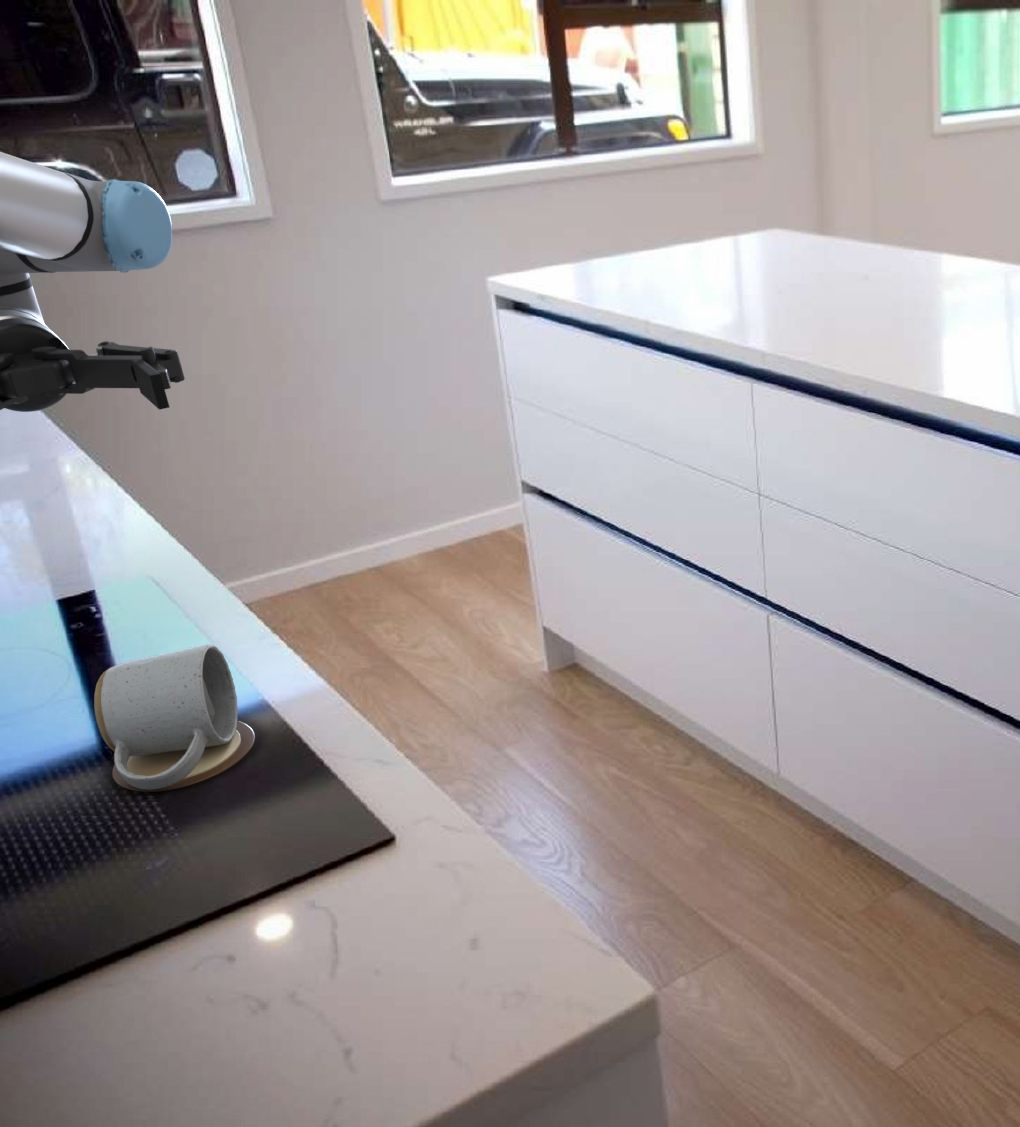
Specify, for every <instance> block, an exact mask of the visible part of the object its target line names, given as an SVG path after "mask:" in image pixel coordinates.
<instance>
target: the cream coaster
mask: <svg viewBox="0 0 1020 1127" xmlns="http://www.w3.org/2000/svg"><path fill="white" fill-rule="evenodd" d="M255 740H256V735H255V732H254V730H253V729H252V727H251V726H249V725H248V724H247V723H244V722H242V721H240V720H239V721H238V720H237V727H236V731H235V733H234V736H233V738H232V739H231V741H229V742H228V743H226V744H222V745H217V746H210V747H205V749H204V752H203V754H202V756H201V758H200V760H199V762H198V764H197V766H196V767H195V768H194V769H193V770H192V771H191V773H190V774H189V775H187V776H186V777H185V778H183V779H182V780H181V781H179V782H177V783H175V784H173V785H171V786H168V787H165V788H160V789H153V790H146V789H139V788H136V787H133V786H131V785H130V784H128V783H127V782H126V781H125V780H124V779H123V777H122V776H121V775H120V773H119V772H118V770H117V767H116V764H115V763H114V765H113V768H112V773H111V774H112V778H113V781H114V782H115V784H117V785H118V786H119V787H121V788H123V789H125V790H128V791H133V792H141V793H158V792H166V791H173V790H177V789H182V788H185V787H189V786H192V785H195V784H196V785H197V784H199V783H201V782H204V781H207V780H209V779H211V778H214V777H216V776H218V775H220V774H222V773H224V772H226V771H227V770H229V769H231V768H232V767H234V766H235V765H236V764H238V763H240V762H241V761H242V760H243V759H244V758H245V757H246V756H247V755H248V754H249V753H250V751H251V750H252V749H253V746H254V745H255V742H256V741H255ZM186 751H187V750H179V751H170V752H164V753H158V754H152V755H145V756H128V759H127V769H128V772H132V773H133V774H135V775H144V776H154V775H157V774H160V773H163V772H164V771H166V770H168V769H170V768H171V767H172V766H173V765H175V764H176V763H177V762H178V761H179V760H180V759H181V758H182V757H183V756H184V755H185V753H186Z"/></svg>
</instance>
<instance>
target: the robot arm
mask: <svg viewBox="0 0 1020 1127" xmlns="http://www.w3.org/2000/svg"><path fill="white" fill-rule="evenodd" d="M172 227H173V222H172V218H171V215H170V211H169V209H168V207H167V204H166V203H165V201H164V200H163V198H162V196H160V194H159V193H157V191H156V190H154V189H153V188H152V187H151V186H149V185H147V184H146V183H144V182H140V181H133V180H120V179H117V178H113V179H112V178H110V179H109V180H104V181H100V180H99V181H97V180H91V179H86V178H84V177H81V176H78V175H74V174H71V173H68V172H64V171H61V170H57V169H53V168H50V167H49V166H48V167H47V166H45V165H42V164H38V163H35V162H32V161H29V160H27V159H23V158H20V157H17V156H14V155H11V154H8V153H5V152H3V151H0V411H1V410H3V409H5V410H10V411H13V412H20V413H31V412H38V411H43V410H46V409H48V408H50V407H52V406H54V405H56V404H57V403H59V402H60V401H61V400H62V399H64V398H65V396H66V395H67V394H68V395H70V394H72V395H82V394H85V393H88V392H90V391H92V390H95V389H139V392H140V394H141V395H142V396H143V397H144V398H145V399H147V400H148V401H149V402H150V403H151V404H152V405H153V406H155V407H156V408H157V409H158V410H159V411H160V410H163V409H168V408H170V404H169V400H168V396H167V393H166V390H169V389H172V384H171V383H174V384H178V383H181V382H183V381H184V380H185V379H186V377H185V373H184V370H183V367H182V362H181V359H180V356H179V353H178V350H177V349H172V348H171V349H169V348H160V347H159V348H157V347H153V346H148V347H145V346H137V345H136V346H135V345H124V344H118V343H116V342H114V341H108V340H105V341H102V342H99V343H98V344H97V346H96V347H95V352H96V353H92V354H87V353H86V352H85V351H84V350H82V349H70V348H69V347H68V345H67V344H66V343H65V342H64V341H63V340H62V339H61V338H60V337H59V336H58V335H57V334H56V333H55V332H54V331H53V330H52V329H51V328H50V327H48V326H47V324H45V320H44V318H43V314H42V311H41V308H40V306H39V302H38V298H37V296H36V292H35V290H34V287H33V282H32V278H31V276H30V274H38V273H40V274H42V273H47V274H49V273H51V274H53V273H75V272H77V273H78V272H80V273H81V272H82V273H83V272H119V273H124V274H126V273H129V272H130V271H141V270H150V269H154V268H156V267H158V266H159V265H161V264H162V263H163V262H164V261H165V260H166V259H167V257H168V256H169V254H170V252H171V248H172V246H173V245H172V244H173V239H174V238H173V234H172V233H173V232H172Z"/></svg>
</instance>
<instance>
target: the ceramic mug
mask: <svg viewBox="0 0 1020 1127" xmlns="http://www.w3.org/2000/svg"><path fill="white" fill-rule="evenodd" d="M93 696H94V697H93V698H94V699H93V700H94V703H93V707H94V716H95V720H96V724H97V727H98V730H99V733H100V736H101V738H102V739H103V741H104V743H105V744H106V745H107V747H108V748H110V750H111V751H113V752H114V753H113V757H114V759H113V760H114V761H113V762H114V765H115V764H116V767H117V770H118V772H119V773H120V775H121V776H122V777H123V779H124V780H125V781H126V782H127V783H128V784H130V785H131V786H133V787H136V788H139V789H146V790H153V789H160V788H165V787H168V786H171V785H173V784H175V783H177V782H179V781H181V780H182V779H183V778H185V777H186V776H187V775H189V774H190V773H191V771H192V770H193V769H194V768H195V767H196V766H197V764H198V762H199V760H200V758H201V756H202V754H203V752H204V749H205V747H210V746H217V745H222V744H226V743H228V742H229V741H231V739H232V738H233V736H234V733H235V731H236V727H237V721H238V696H237V692H236V685H235V682H234V678H233V676H232V672H231V670H230V666H229V663H228V662H227V660H226V657H225V656H224V654H223V653H222V651H221V650H220V649H219V648H218V647H217V646H215V645H214V644H210V643H206V644H201V645H196V646H193V647H187V648H184V649H179V650H175V651H170V652H166V653H162V654H156V655H152V656H147V657H142V658H141V657H140V658H138V659H137V658H136V659H132V660H128V661H125V662H122V663H119V664H116V665H114V666H111V667H109V668H107V669H106V670H105V671H103V672H102V674H101V675H100V676H99V678H98V679H97V682H96V685H95V691H94V695H93ZM179 750H187V751H186V753H185V755H184V756H183V757H182V758H181V759H180V760H179V761H178V762H177V763H176V764H175V765H173V766H172V767H171V768H170V769H168V770H166V771H164V772H163V773H160V774H157V775H154V776H144V775H135V774H133V773H132V772H128V769H127V759H128V756H145V755H152V754H158V753H164V752H170V751H179Z"/></svg>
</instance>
